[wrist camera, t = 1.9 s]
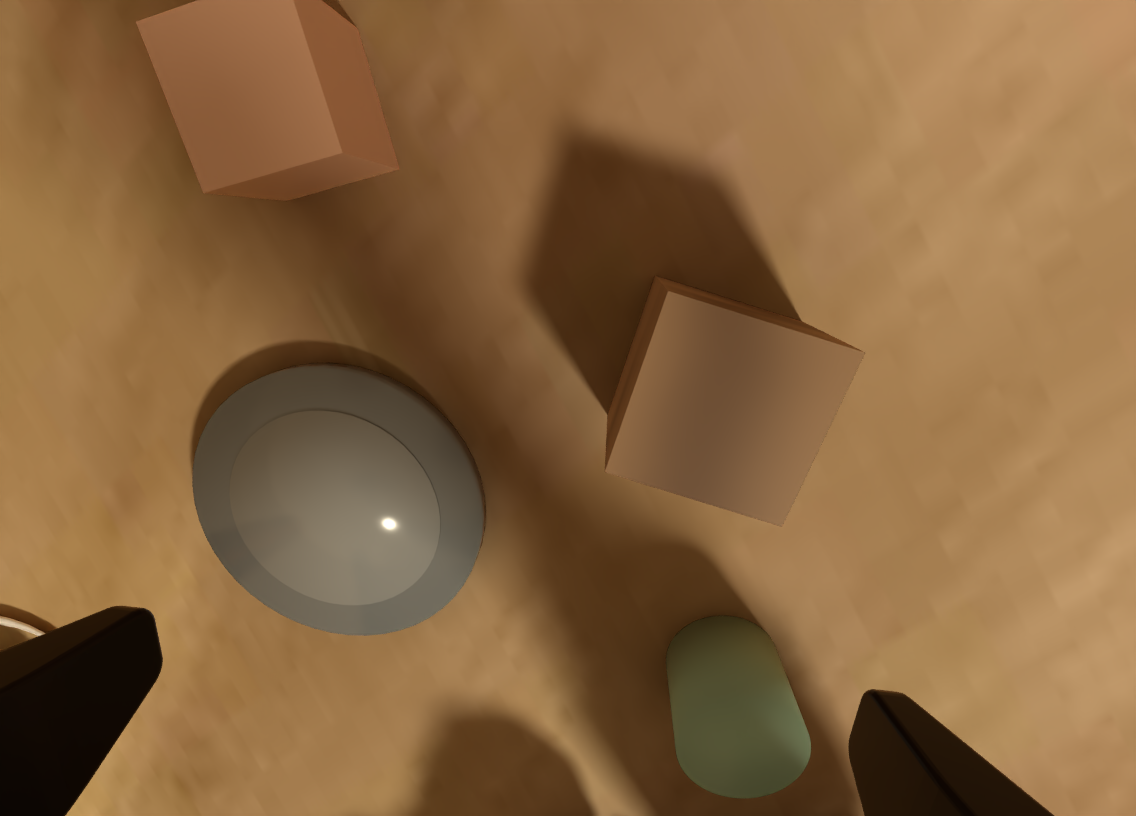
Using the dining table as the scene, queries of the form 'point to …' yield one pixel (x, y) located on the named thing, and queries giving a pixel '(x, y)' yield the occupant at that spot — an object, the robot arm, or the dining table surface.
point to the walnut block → (725, 401)
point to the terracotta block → (269, 96)
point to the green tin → (734, 709)
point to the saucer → (339, 498)
